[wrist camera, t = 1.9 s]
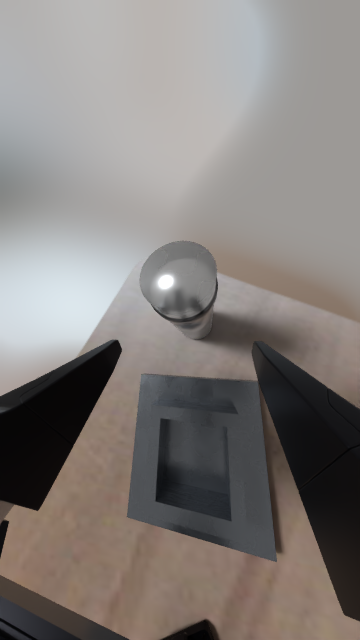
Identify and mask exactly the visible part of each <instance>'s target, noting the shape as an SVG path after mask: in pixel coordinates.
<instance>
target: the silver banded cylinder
mask: <svg viewBox="0 0 360 640" xmlns="http://www.w3.org/2000/svg"><path fill="white" fill-rule="evenodd" d="M140 287H141V291H142V293H143V295H144V297H145V298H146V299H147V301H148V302H149V303H151V305H152V307H153V308H154V310H155V311H156V312H157V313H158V314H159V315H161V316H162V317H163V318H165V319H166V320H168V321H170V322H171V323H172V324H173V325H174V326H175V327H176V328H178V329H179V330H180V331H181V332H182V333H183V334H184V335H185V336H186V337H188V338H190V339H201V338H204V337H205V336H206V335H208V333H209V332H210V330H211V327H212V319H213V308H214V302H215V300H216V296H217V290H218V282H217V268H216V263H215V260H214V258H213V256H212V254H211V253H210V252H209V251H208V250H207V249H206V248H205V247H203V246H202V245H200V244H197V243H194V242H190V241H177V242H172V243H169V244H166V245H164V246H162V247H160V248H159V249H157V250H156V251H155V252H154V253H152V254H151V255H150V256H149V258H148V259H147V260H146V262H145V263H144V265H143V267H142V270H141V274H140Z"/></svg>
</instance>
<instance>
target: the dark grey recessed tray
mask: <svg viewBox="0 0 360 640" xmlns="http://www.w3.org/2000/svg"><path fill="white" fill-rule="evenodd" d="M127 517H128V518H132V519H135V520H138V521H142V522H145V523H148V524H152V525H155V526H158V527H162V528H165V529H168V530H172V531H175V532H178V533H182V534H185V535H188V536H192V537H195V538H198V539H202V540H205V541H208V542H211V543H215V544H218V545H221V546H225V547H228V548H231V549H235V550H238V551H241V552H245V553H248V554H251V555H255V556H258V557H261V558H265V559H268V560H271V561H275V562H277V558H276V549H275V539H274V530H273V520H272V511H271V501H270V492H269V482H268V473H267V463H266V454H265V444H264V435H263V425H262V416H261V406H260V397H259V387H258V382H257V381H252V380H236V379H220V378H205V377H189V376H173V375H158V374H141V383H140V393H139V403H138V413H137V423H136V433H135V443H134V453H133V463H132V473H131V483H130V493H129V503H128V513H127Z"/></svg>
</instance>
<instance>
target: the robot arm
mask: <svg viewBox="0 0 360 640" xmlns="http://www.w3.org/2000/svg"><path fill="white" fill-rule="evenodd" d="M121 352H122V348H121V346H120V343H119V341H118V340H110V341H108V342H107V343H105V344H103V345H101V346H99V347H97V348H95V349H93V350H91V351H89V352H87V353H85V354H84V355H82V356H80V357H78V358H76V359H74V360H72V361H70V362H68V363H66V364H65V365H62V366H61V367H59V368H57V369H55V370H53V371H51V372H49V373H47V374H45V375H43V376H41V377H39V378H38V379H36V380H33V381H31V382H29V383H27V384H25V385H23V386H21V387H19V388H17V389H15V390H12V391H10V392H8V393H6V394H4V395H2V396H0V557H1V553H2V549H3V544H4V540H5V536H6V532H7V528H8V524H9V521H7V520H5V519H4V518H5V517H6V515H7V514H8V513H9V511H10V510H11V509H12V507H13V506H14V504H15V505H18V506H22V507H25V508H29V509H33V510H36V511H38V510H39V509H40V507H41V506H42V504H43V502H44V500H45V498H46V496H47V495H48V493H49V491H50V489H51V487H52V485H53V483H54V481H55V480H56V478H57V476H58V474H59V472H60V470H61V468H62V466H63V465H64V463H65V461H66V459H67V457H68V455H69V453H70V452H71V450H72V448H73V445H74V444H75V442H76V440H77V438H78V436H79V434H80V433H81V431H82V429H83V427H84V425H85V423H86V421H87V420H88V418H89V416H90V414H91V412H92V410H93V408H94V406H95V405H96V403H97V401H98V399H99V397H100V395H101V393H102V392H103V390H104V388H105V386H106V384H107V382H108V380H109V378H110V377H111V375H112V373H113V371H114V369H115V366H116V364H117V361H118V359H119V357H120V354H121ZM252 357H253V362H254V366H255V370H256V374H257V378H258V382H259V385H260V387H261V390H262V393H263V395H264V398H265V401H266V404H267V406H268V409H269V412H270V415H271V417H272V420H273V423H274V426H275V428H276V431H277V434H278V436H279V439H280V442H281V445H282V447H283V450H284V453H285V456H286V458H287V461H288V464H289V467H290V469H291V472H292V475H293V477H294V480H295V483H296V486H297V488H298V490H299V494H300V497H301V500H302V502H303V505H304V508H305V511H306V513H307V516H308V519H309V522H310V524H311V527H312V530H313V532H314V535H315V538H316V541H317V543H318V546H319V549H320V552H321V554H322V557H323V560H324V563H325V565H326V568H327V571H328V573H329V576H330V579H331V582H332V584H333V587H334V590H335V593H336V595H337V598H338V601H339V603H340V606H341V608H342V611H343V613H344V615H345V616H348V617H350V618H353V619H355V620H357V621H360V409H359V408H357V407H355V406H354V405H353V404H351V403H350V402H348V401H347V400H345V399H344V398H342V397H341V396H339V395H338V394H336V393H335V392H334V391H332V390H331V389H329V388H328V389H327V387H326V386H325V385H324V384H322V383H321V382H319V381H318V380H316V379H315V378H314V377H312V376H311V375H309V374H308V373H307V372H305V371H304V370H302V369H301V368H299V367H298V366H297V365H295V364H294V363H292V362H291V361H289V360H288V359H287V358H285V357H284V356H282V355H281V354H279V353H278V352H277V351H275V350H274V349H272V348H271V347H269V346H268V345H267V344H265V343H264V342H262V341H255V342H254V343H253V349H252ZM0 640H129V639H127V638H125V637H123V636H121V635H119V634H117V633H115V632H113V631H111V630H109V629H107V628H105V627H103V626H101V625H99V624H97V623H95V622H93V621H91V620H89V619H87V618H85V617H83V616H81V615H79V614H77V613H75V612H73V611H71V610H69V609H67V608H65V607H63V606H61V605H59V604H57V603H55V602H53V601H51V600H49V599H47V598H45V597H43V596H41V595H39V594H37V593H35V592H33V591H31V590H29V589H27V588H25V587H23V586H21V585H19V584H17V583H15V582H13V581H11V580H9V579H7V578H5V577H3V576H1V575H0ZM164 640H214V639H213V636H212V633H211V630H210V627H209V625H208V624H207V623H206V622H201V623H198V624H196V625H194V626H192V627H190V628H187V629H185V630H183V631H181V632H179V633H177V634H174V635H172V636H170V637H168V638H166V639H164Z"/></svg>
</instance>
